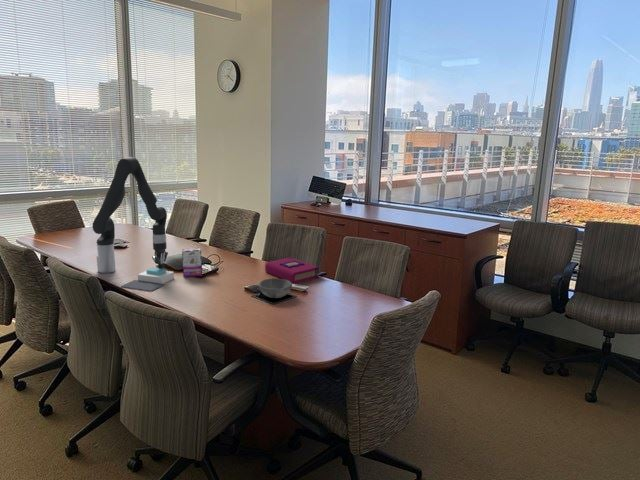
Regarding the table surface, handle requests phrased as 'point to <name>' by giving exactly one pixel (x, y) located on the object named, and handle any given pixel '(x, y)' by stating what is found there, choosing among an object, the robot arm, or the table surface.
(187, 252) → the candy bar box
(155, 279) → the block
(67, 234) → the table surface
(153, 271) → the teal flat block
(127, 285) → the mat
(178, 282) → the table surface
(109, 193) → the robot arm
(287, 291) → the bowl
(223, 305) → the table surface
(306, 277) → the book
